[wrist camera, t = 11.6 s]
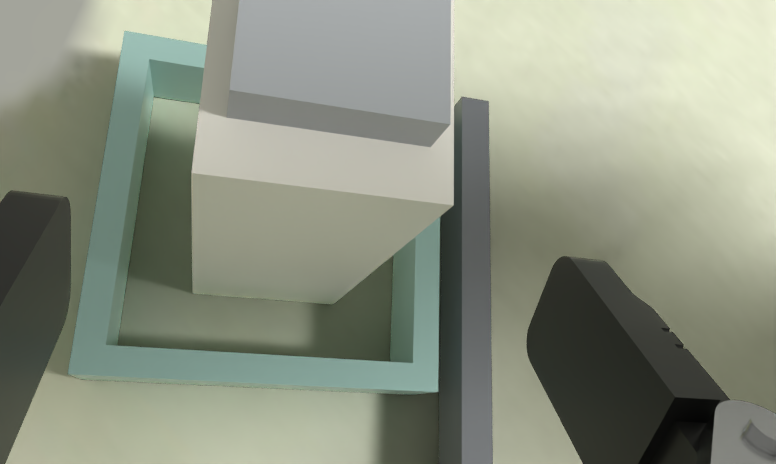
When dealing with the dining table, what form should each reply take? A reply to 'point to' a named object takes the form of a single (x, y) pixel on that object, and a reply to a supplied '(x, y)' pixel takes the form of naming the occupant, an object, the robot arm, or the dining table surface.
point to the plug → (319, 142)
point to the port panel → (399, 376)
